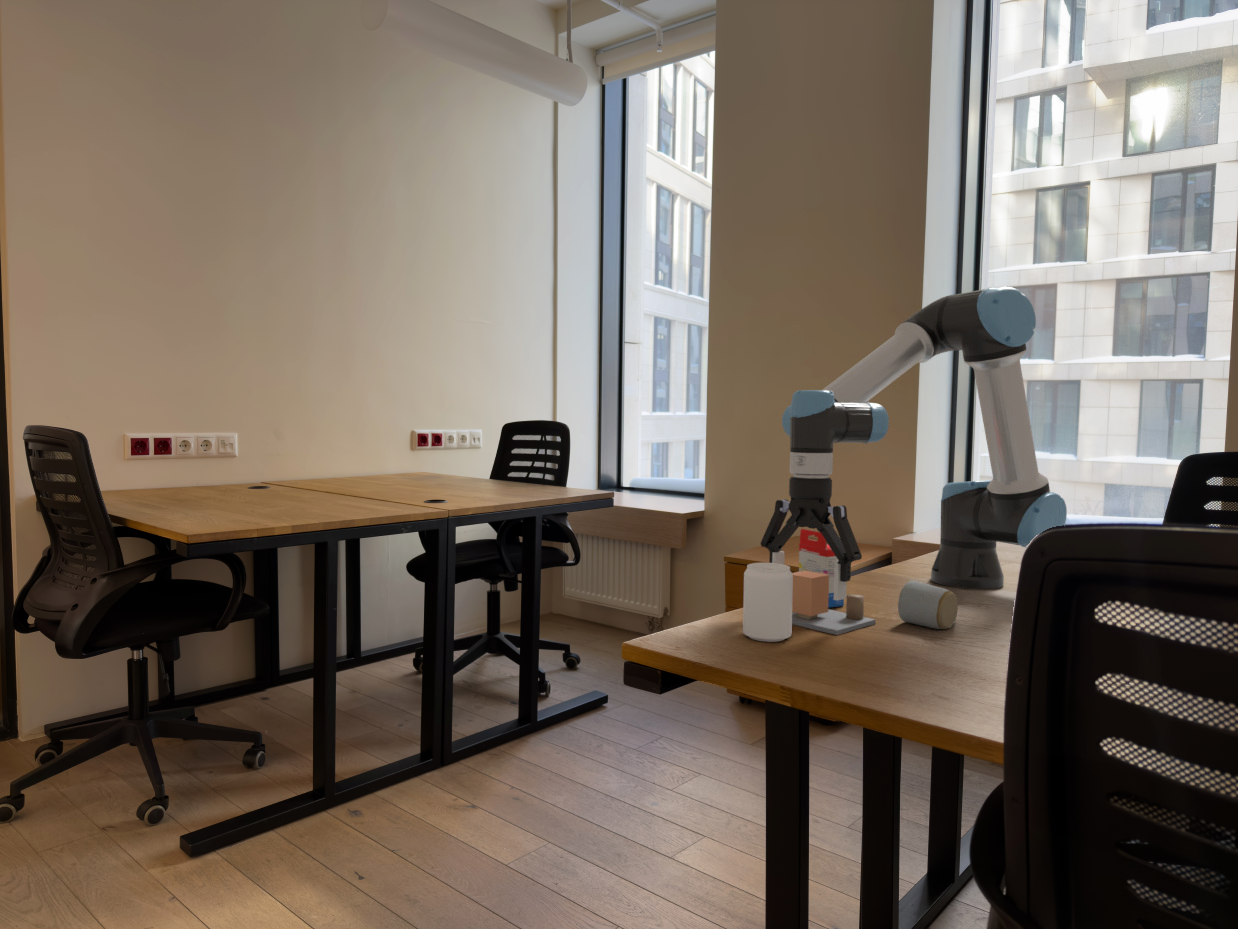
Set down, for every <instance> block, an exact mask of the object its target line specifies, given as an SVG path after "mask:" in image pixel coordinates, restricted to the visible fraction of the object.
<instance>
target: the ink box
mask: <svg viewBox="0 0 1238 929" xmlns="http://www.w3.org/2000/svg"><path fill="white" fill-rule="evenodd" d="M799 532H800V533H799V534H800V535H799V545H798V549H799V550H798V572H800V571H811V572H816V573H822V574H827V575H829V599H828V609H831V608H839V607H844V604H845V603H844V601H845V599H842V600H838V601H837V600H834V571H835V563H837V562H838V561H839V560H838V559H837V557H836V556H835V554H834V553H833V551H832V549H831V548H830V546H829V545H828V543H827V541H826V540H825V538H824V537H823V535H822V534H821V532H819V531H818V530H817V531H816V530H811V529H805V528H801V529H800V531H799ZM813 536H814V537H815V538H817V540H816V539H810V537H813Z"/></svg>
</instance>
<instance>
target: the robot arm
mask: <svg viewBox="0 0 1238 929" xmlns="http://www.w3.org/2000/svg"><path fill="white" fill-rule="evenodd" d="M1036 319H1037V318H1036V313H1035V308H1034V306H1033V304H1032V303H1031V300H1030V299H1029V298H1028V297H1027V295H1026V294H1024V293H1022V292H1021V290H1020V289H1017V288H1014V287H1010V286H1008V287H1007V286H1002V287H989V288H983V289H978V290H972V291H969V292H968V291H967V292H963V293H955V294H949V295H946V296H943V297H940V298H939V299H936V300H934V301H932V302H931V303H929V304H927V305H926V306H924V307H923V308H921V309H919V310H918V311H917V312H915V313H914V314H913V315H911V316H910V317H908V318H907V319H905V321H903V322H902V323H900V324H899V325H898V326H897V327H896V329H895V331H894V335H893V336H891V337H890V338H889V339H887V340H886V341H884V342H883V343H882V344H881V345H879V346H878V347H877V348H875V349H874V350H873V351H872V352H870V353H869V354H868V355H866V356H865V357H863V358H862V359H861V360H860V361H858V362H856V364H854V365H853V366H852V367H851V368H849V369H847V371H846V372H844V373H843V374H841V375H840V376H839V377H837V378H836V379H835V380H833V381H832V382H831V383H829V384H828V385H827V386H825V387H824V388H823V389H822V390H821V389H819V390H818V389H807V390H803V389H801V390H796V391H795V392H793V394H792V396H791V402H790V405H788V406H787V407H786V408H785V410H784V412H783V414H782V416H781V425H782V428H783V431H784V432H785V434H786V435H787V436H788V437H789V439H790V440H789V442H790V445H789V446H790V448H789V449H790V450H789V451H790V452H789V473H790V474H791V475H792V476H790V478H789V479H788V480H789V481H788V488H789V489H788V495H789V497H790V500H788V499H786V498H785V499H776V500H775V503H774V504H775V505H774V512H773V514H772V517H770V521H769V523H768V525H767V527H766V530H765V532H764V534H763V536H762V539H761V541H760V546H761V547H762V548H765V549H767V550H768V553H769V560H768V561H769V562H768V563H778V564H784V565H785V560H786V559H785V558H786V557H785V553H786V552H785V551H784V550H783V548H784V546H785V545H786V543H787V542H788V541H789V540H790V539H791V537H792V536H793V535H794V533H795V532H796V531H797V530H798V529H799V528H807V529H808V528H809V529H816V530H817V532H821V534H822V535H823V537H824V538H825V540H826V541H827V544H828V545H829V546H830V548H831V549H832V551H833V553H834V554H835V556H836V557H837V559H838V560H839V561H838V562H837V563H835V571H834V600H837V601H838V600H842V599H844V600H847V586H848V584H847V582H850V581H851V579H852V578H851V574H852V563H853V562H856V561H860V560H861V559H862V557H863V556H862V552H861V550H860V547H859V545H858V542H857V540H856V537H855V535H854V531H853V530H852V527H851V525H850V521H849V519H848V513H847V512H848V510H847V507H846V505H845V504H844V505H835V506H834V505H833V506H832V505H831V498H832V495H833V494H832V493H833V479H832V478H831V477H830V475H833V470H834V469H833V468H834V466H833V463H834V462H833V459H834V458H833V455H834V454H833V453H834V444H837V443H841V444H843V443H845V444H846V443H847V444H857V443H858V444H859V443H860V444H865V445H866V444H870V443H876V442H877V443H878V442H879V441H881V440H883V439H884V438H885V437H886V435H887V433H888V430H889V426H890V425H889V424H890V423H889V420H890V418H889V414H888V412H887V410H886V409H885V407H884V406H883V405H881V404H880V403H876V402H869V401H870V400H871V399H873V398H874V397H875V396H876V395H877V394H879V393H880V392H882V391H883V390H884V389H885V388H887V387H888V386H890V385H891V384H892V383H893V382H894V381H896V380H897V379H898V378H899V377H901V376H902V375H904V374H905V373H906V372H907V371H909V370H910V369H911V368H912V367H914V366H915V365H917V364H922V363H926V362H928V361H929V360H931V359H932V358H934V357H935V356H937V355H940V354H942V353H943V354H944V353H948V352H953V351H961V352H962V358H963V362H964V364H966V365H968V366H970V367H971V368H972V369H973V372H974V379H975V383H976V389H977V394H978V400H979V405H980V412H981V418H982V422H983V429H984V432H985V433H984V436H985V440H986V444H987V450H988V456H989V463H990V468H991V473H992V480H975V481H955V482H948V483H946V484H944V486H943V488H942V492H941V499H940V539H939V540H940V544H939V549H938V551H937V554H936V556H935V557H936V558H935V559H934V562H933V565H932V566H931V570H930V580H931V581H932V582H934V583H936V584H939V585H942V586H948V587H953V588H961V589H970V590H971V589H972V590H994V589H1000V588H1002V587H1004V581H1005V579H1004V578H1005V577H1004V573H1003V569H1002V567H1001V563H1000V560H999V556H998V552H997V543H998V542H999V543H1002V544H1007V545H1008V544H1009V545H1013V546H1021V547H1022V548H1027V547H1026V546H1027V545H1028V544H1029V543H1030V541H1031V540H1032V539H1033V538H1034V537H1035V536H1036V535H1038V534H1040V533H1042V532H1043V531H1045V530H1047V529H1049V528H1052V527H1056V526H1062V525H1064V526H1065V525H1066V521H1067V515H1068V514H1067V512H1068V511H1067V504H1066V501H1065V499H1064V498H1063V497H1062V496H1060V494H1059V493H1055V492H1054V491H1051V490H1050V484H1049V479H1048V478H1047V476H1045V475H1043V474H1042V473H1040V472H1039V468H1038V462H1037V455H1036V449H1035V443H1034V439H1033V432H1032V426H1031V420H1030V414H1029V409H1028V408H1029V407H1028V401H1027V396H1026V389H1025V384H1024V378H1023V371H1022V367H1021V358H1022V357H1023V356H1024V355H1025V353H1026V352H1027V351H1028V350H1027V349H1028V348H1027V343H1028V342H1029V341H1030V340H1031V339H1032V338H1033V336H1034V334H1035V331H1034V329H1035V328H1036V324H1037V320H1036ZM789 512H790V514H791V515H790V517H789V518H788V519H787V520H786V517H787V515H788V513H789ZM830 517H832V519H833V522H834V523H833V522H832V521H831V519H830ZM785 520H786V521H785ZM784 522H785V525H784V526H783V524H784ZM782 526H783V527H782ZM834 526H835V528H836V529H835V528H834ZM782 550H783V551H782Z"/></svg>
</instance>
